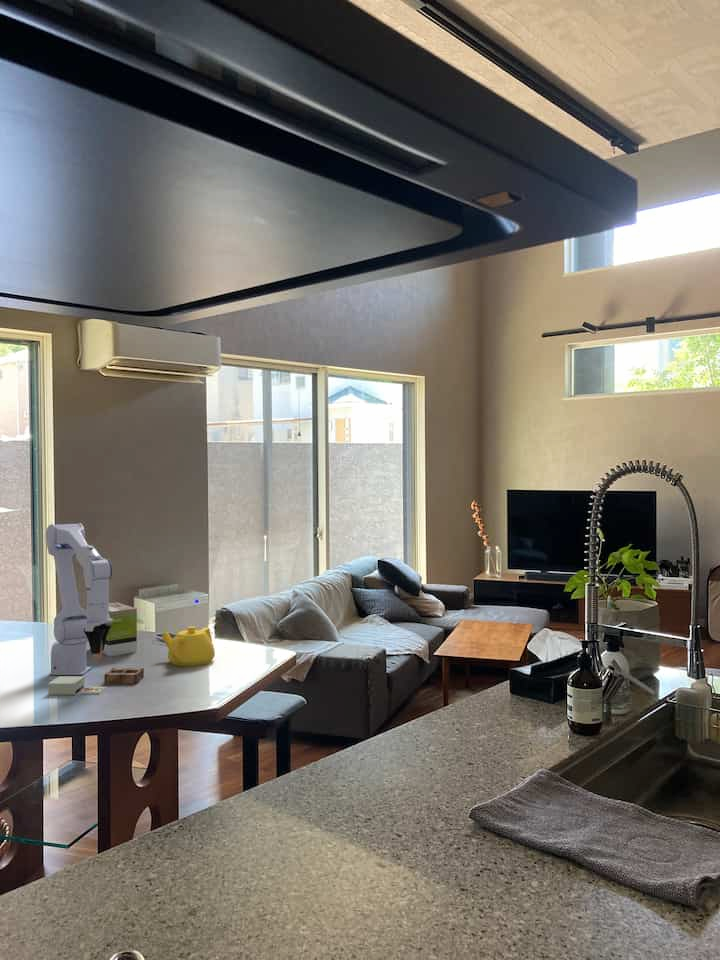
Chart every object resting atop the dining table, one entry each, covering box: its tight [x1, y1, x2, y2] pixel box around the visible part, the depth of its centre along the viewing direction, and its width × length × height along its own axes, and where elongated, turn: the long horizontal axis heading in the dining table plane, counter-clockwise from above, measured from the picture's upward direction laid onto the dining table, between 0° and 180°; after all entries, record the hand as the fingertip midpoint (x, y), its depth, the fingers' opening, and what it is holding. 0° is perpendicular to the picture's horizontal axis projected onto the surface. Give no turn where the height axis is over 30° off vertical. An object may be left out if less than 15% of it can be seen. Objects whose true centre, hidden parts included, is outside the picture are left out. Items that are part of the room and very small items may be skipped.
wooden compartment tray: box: [104, 667, 145, 685], centre depth 214 cm, size 9×7×2 cm
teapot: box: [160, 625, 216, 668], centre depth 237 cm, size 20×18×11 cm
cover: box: [48, 675, 86, 696], centre depth 203 cm, size 7×7×3 cm
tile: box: [80, 686, 107, 695], centre depth 203 cm, size 5×5×1 cm
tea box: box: [102, 602, 138, 657], centre depth 250 cm, size 15×10×15 cm
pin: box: [92, 644, 103, 661], centre depth 210 cm, size 2×2×6 cm
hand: (97, 652), depth 210 cm, fingers closed on pin, 2 cm apart
